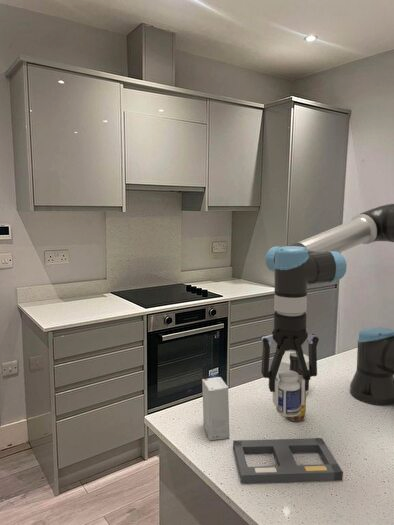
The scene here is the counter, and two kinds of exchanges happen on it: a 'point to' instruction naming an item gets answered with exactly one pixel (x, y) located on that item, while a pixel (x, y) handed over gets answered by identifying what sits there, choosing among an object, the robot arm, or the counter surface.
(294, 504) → the counter surface
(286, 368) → the cup
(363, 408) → the counter surface
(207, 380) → the skincare box
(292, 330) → the robot arm
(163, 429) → the counter surface
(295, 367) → the sauce bottle
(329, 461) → the socket panel
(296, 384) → the pill bottle
